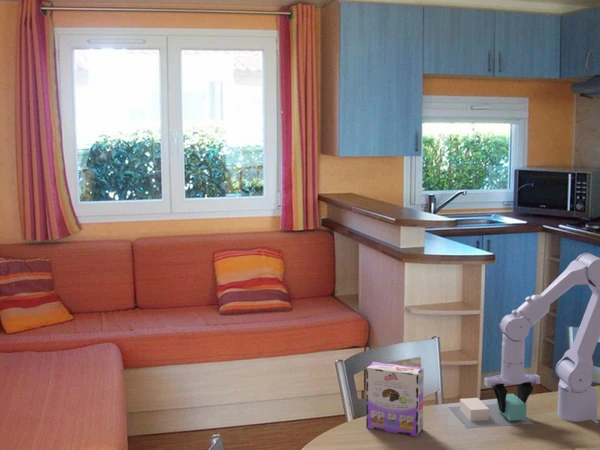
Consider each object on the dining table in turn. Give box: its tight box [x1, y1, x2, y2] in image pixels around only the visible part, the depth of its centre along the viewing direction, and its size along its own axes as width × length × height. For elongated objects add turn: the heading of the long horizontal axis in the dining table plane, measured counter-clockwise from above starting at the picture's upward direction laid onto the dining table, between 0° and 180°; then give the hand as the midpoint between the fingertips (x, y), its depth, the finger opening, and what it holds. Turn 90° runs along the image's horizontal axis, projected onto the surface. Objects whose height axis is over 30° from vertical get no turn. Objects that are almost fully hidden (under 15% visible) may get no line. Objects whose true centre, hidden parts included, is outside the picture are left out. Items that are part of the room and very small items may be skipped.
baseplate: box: [447, 397, 534, 429], centre depth 196 cm, size 18×14×4 cm
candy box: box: [365, 361, 424, 437], centre depth 189 cm, size 14×6×16 cm, turn 65°
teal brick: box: [496, 393, 527, 421], centre depth 194 cm, size 4×8×4 cm, turn 8°
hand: (511, 410), depth 194 cm, fingers closed on teal brick, 4 cm apart
